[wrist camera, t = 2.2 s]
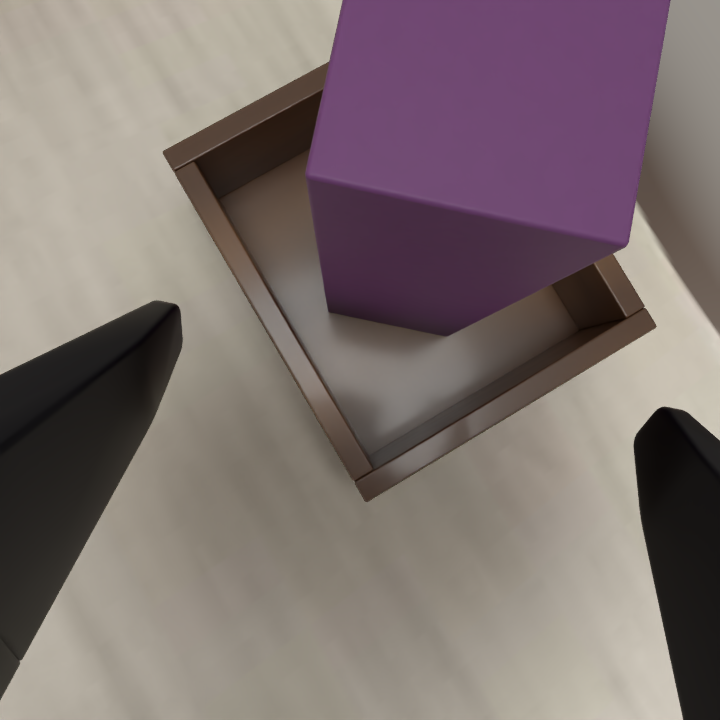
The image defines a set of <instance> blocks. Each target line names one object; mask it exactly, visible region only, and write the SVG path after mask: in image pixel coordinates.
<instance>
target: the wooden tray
mask: <svg viewBox="0 0 720 720" xmlns="http://www.w3.org/2000/svg"><path fill="white" fill-rule="evenodd" d="M328 66H329V62H327V63H326V64H324V65H322V66H320V67H318V68H316V69H315V70H313V71H311V72H309V73H307V74H305V75H303V76H302V77H300V78H298V79H296V80H294V81H292V82H290V83H289V84H287V85H285V86H283V87H281V88H279V89H277V90H276V91H274V92H272V93H270V94H268V95H266V96H264V97H263V98H261V99H259V100H257V101H255V102H253V103H251V104H250V105H248V106H246V107H244V108H242V109H240V110H238V111H237V112H235V113H233V114H231V115H229V116H227V117H225V118H224V119H222V120H220V121H218V122H216V123H214V124H212V125H211V126H209V127H207V128H205V129H203V130H201V131H199V132H198V133H196V134H194V135H192V136H190V137H188V138H186V139H185V140H183V141H181V142H179V143H177V144H175V145H173V146H172V147H170V148H168V149H166V150H164V151H163V155H164V156H165V158H166V160H167V161H168V163H169V165H170V167H171V168H172V170H173V171H174V173H175V175H176V177H177V179H178V180H179V182H180V184H181V185H182V187H183V189H184V191H185V192H186V194H187V196H188V198H189V199H190V201H191V203H192V204H193V206H194V208H195V210H196V211H197V213H198V215H199V216H200V218H201V220H202V222H203V223H204V225H205V227H206V229H207V230H208V232H209V234H210V235H211V237H212V239H213V241H214V242H215V244H216V246H217V247H218V249H219V251H220V253H221V254H222V256H223V258H224V260H225V261H226V263H227V265H228V266H229V268H230V270H231V272H232V273H233V275H234V277H235V279H236V280H237V282H238V284H239V285H240V287H241V289H242V291H243V292H244V294H245V296H246V297H247V299H248V301H249V303H250V304H251V306H252V308H253V310H254V311H255V313H256V315H257V316H258V318H259V320H260V322H261V323H262V325H263V327H264V328H265V330H266V332H267V334H268V335H269V337H270V339H271V341H272V342H273V344H274V346H275V347H276V349H277V351H278V353H279V354H280V356H281V358H282V359H283V361H284V363H285V365H286V366H287V368H288V370H289V372H290V373H291V375H292V377H293V378H294V380H295V382H296V384H297V385H298V387H299V389H300V390H301V392H302V394H303V396H304V397H305V399H306V401H307V403H308V404H309V406H310V408H311V409H312V411H313V413H314V415H315V416H316V418H317V420H318V421H319V423H320V425H321V427H322V428H323V430H324V432H325V434H326V435H327V437H328V439H329V440H330V442H331V444H332V446H333V447H334V449H335V451H336V452H337V454H338V456H339V458H340V459H341V461H342V463H343V465H344V466H345V468H346V470H347V471H348V473H349V475H350V477H351V478H352V480H353V481H354V482H355V485H356V487H357V489H358V490H359V492H360V494H361V496H362V497H363V499H364V501H365V502H368V501H370V500H372V499H373V498H375V497H377V496H378V495H380V494H382V493H383V492H385V491H387V490H388V489H390V488H392V487H393V486H395V485H397V484H398V483H400V482H402V481H403V480H405V479H407V478H408V477H410V476H411V475H413V474H415V473H416V472H418V471H420V470H421V469H423V468H425V467H426V466H428V465H430V464H431V463H433V462H435V461H436V460H438V459H440V458H441V457H443V456H445V455H446V454H448V453H450V452H451V451H453V450H455V449H456V448H458V447H459V446H461V445H463V444H464V443H466V442H468V441H469V440H471V439H473V438H474V437H476V436H478V435H479V434H481V433H483V432H484V431H486V430H488V429H489V428H491V427H493V426H494V425H496V424H498V423H499V422H501V421H502V420H504V419H506V418H507V417H509V416H511V415H512V414H514V413H516V412H517V411H519V410H521V409H522V408H524V407H526V406H527V405H529V404H531V403H532V402H534V401H536V400H537V399H539V398H541V397H542V396H544V395H546V394H547V393H549V392H550V391H552V390H554V389H555V388H557V387H559V386H560V385H562V384H564V383H565V382H567V381H569V380H570V379H572V378H574V377H575V376H577V375H579V374H580V373H582V372H584V371H585V370H587V369H589V368H590V367H592V366H594V365H595V364H597V363H598V362H600V361H602V360H603V359H605V358H607V357H608V356H610V355H612V354H613V353H615V352H617V351H618V350H620V349H622V348H623V347H625V346H627V345H628V344H630V343H632V342H633V341H635V340H637V339H638V338H640V337H641V336H643V335H645V334H646V333H648V332H650V331H651V330H653V329H655V328H656V324H655V322H654V321H653V319H652V318H651V316H650V314H649V313H648V311H647V309H646V308H644V307H645V306H644V304H643V302H642V301H641V299H640V297H639V296H638V294H637V293H636V291H635V289H634V288H633V286H632V284H631V283H630V281H629V279H628V278H627V276H626V274H625V273H624V271H623V270H622V268H621V266H620V265H619V263H618V261H617V260H616V258H615V256H614V255H613V254H611V255H609V256H607V257H605V258H603V259H601V260H599V261H597V262H595V263H593V264H591V265H589V266H587V267H585V268H583V269H581V270H579V271H577V272H575V273H573V274H571V275H569V276H567V277H565V278H563V279H561V280H559V281H557V282H555V283H553V284H551V285H549V286H547V287H545V288H543V289H541V290H539V291H537V292H535V293H533V294H531V295H529V296H527V297H525V298H523V299H521V300H519V301H517V302H515V303H513V304H511V305H509V306H507V307H505V308H503V309H501V310H499V311H497V312H495V313H493V314H491V315H489V316H487V317H485V318H483V319H481V320H480V321H478V322H476V323H474V324H472V325H470V326H468V327H466V328H464V329H462V330H460V331H458V332H456V333H454V334H452V335H450V336H447V337H446V336H441V335H436V334H431V333H427V332H422V331H417V330H412V329H408V328H403V327H398V326H393V325H388V324H384V323H379V322H374V321H369V320H365V319H360V318H355V317H350V316H345V315H341V314H336V313H331V312H328V309H327V303H326V297H325V291H324V285H323V279H322V273H321V267H320V261H319V255H318V249H317V243H316V237H315V231H314V225H313V219H312V213H311V207H310V201H309V195H308V189H307V183H306V177H305V171H306V166H307V162H308V157H309V153H310V148H311V143H312V139H313V134H314V130H315V125H316V120H317V116H318V111H319V107H320V102H321V98H322V93H323V88H324V84H325V79H326V75H327V70H328Z"/></svg>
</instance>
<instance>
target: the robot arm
mask: <svg viewBox="0 0 720 720" xmlns="http://www.w3.org/2000/svg"><path fill="white" fill-rule="evenodd" d="M182 342H183V337H182V325H181V313H180V309H179V307H178V306H177V305H176V304H173V303H168V302H164V301H157V300H156V301H152V302H150V303H148V304H146V305H144V306H142V307H140V308H138V309H136V310H133V311H131V312H129V313H127V314H125V315H123V316H121V317H119V318H117V319H115V320H113V321H111V322H109V323H107V324H105V325H102V326H100V327H98V328H96V329H94V330H92V331H90V332H88V333H86V334H84V335H82V336H80V337H78V338H76V339H73V340H71V341H69V342H67V343H65V344H63V345H61V346H59V347H57V348H55V349H53V350H51V351H49V352H47V353H44V354H42V355H40V356H38V357H36V358H34V359H32V360H30V361H28V362H26V363H24V364H22V365H20V366H18V367H15V368H13V369H11V370H9V371H7V372H5V373H3V374H1V375H0V700H1V698H2V696H3V694H4V692H5V690H6V689H7V687H8V685H9V683H10V681H11V680H12V678H13V676H14V674H15V672H16V670H17V669H18V667H19V665H20V660H22V659H23V657H24V655H25V653H26V652H27V650H28V648H29V646H30V644H31V642H32V641H33V639H34V637H35V635H36V633H37V632H38V630H39V628H40V626H41V624H42V622H43V621H44V619H45V617H46V615H47V613H48V611H49V610H50V608H51V606H52V604H53V602H54V601H55V599H56V597H57V595H58V593H59V591H60V590H61V588H62V586H63V584H64V582H65V580H66V579H67V577H68V575H69V573H70V571H71V570H72V568H73V566H74V564H75V562H76V560H77V559H78V557H79V555H80V553H81V551H82V549H83V548H84V546H85V544H86V542H87V540H88V539H89V537H90V535H91V533H92V531H93V529H94V528H95V526H96V524H97V522H98V520H99V518H100V517H101V515H102V513H103V511H104V509H105V508H106V506H107V504H108V502H109V500H110V498H111V497H112V495H113V493H114V491H115V489H116V487H117V486H118V484H119V482H120V480H121V478H122V477H123V475H124V473H125V471H126V469H127V467H128V466H129V464H130V462H131V460H132V458H133V456H134V455H135V453H136V451H137V449H138V447H139V446H140V444H141V442H142V440H143V438H144V436H145V435H146V433H147V431H148V429H149V427H150V425H151V423H152V421H153V419H154V417H155V414H156V412H157V410H158V407H159V405H160V402H161V400H162V397H163V395H164V392H165V390H166V387H167V385H168V382H169V380H170V377H171V375H172V372H173V369H174V367H175V364H176V362H177V359H178V357H179V354H180V352H181V348H182ZM634 455H635V466H636V476H637V487H638V497H639V508H640V515H641V522H642V527H643V532H644V537H645V542H646V547H647V551H648V556H649V561H650V565H651V570H652V575H653V580H654V584H655V589H656V594H657V598H658V603H659V608H660V612H661V617H662V622H663V627H664V631H665V636H666V641H667V645H668V650H669V655H670V659H671V664H672V669H673V674H674V678H675V683H676V688H677V692H678V697H679V702H680V707H681V711H682V716H683V720H720V441H719V440H718V439H717V438H716V437H715V436H714V435H713V434H711V433H710V432H709V431H708V430H707V429H706V428H705V427H703V426H702V425H701V424H700V423H699V422H698V421H697V420H695V419H694V418H693V417H692V416H691V415H690V414H689V413H687V412H685V411H683V410H679V409H675V408H670V407H661V408H659V409H657V410H656V411H655V412H654V414H653V415H652V416H651V417H650V418H649V420H648V421H647V422H646V423H645V424H644V425H643V427H642V428H641V429H640V430H639V431H638V433H637V434H636V437H635V440H634Z"/></svg>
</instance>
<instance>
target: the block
mask: <svg viewBox="0 0 720 720" xmlns="http://www.w3.org/2000/svg"><path fill="white" fill-rule="evenodd" d="M669 6H670V0H343V2H342V6H341V11H340V15H339V20H338V24H337V29H336V34H335V38H334V43H333V47H332V52H331V56H330V61H329V66H328V70H327V75H326V79H325V84H324V88H323V93H322V98H321V102H320V107H319V111H318V116H317V120H316V125H315V130H314V134H313V139H312V143H311V148H310V153H309V157H308V162H307V166H306V171H305V177H306V183H307V189H308V195H309V201H310V207H311V213H312V219H313V225H314V231H315V237H316V243H317V249H318V255H319V261H320V267H321V273H322V279H323V285H324V291H325V297H326V303H327V309H328V312H331V313H336V314H341V315H345V316H350V317H355V318H360V319H365V320H369V321H374V322H379V323H384V324H388V325H393V326H398V327H403V328H408V329H412V330H417V331H422V332H427V333H431V334H436V335H441V336H446V337H447V336H450V335H452V334H454V333H456V332H458V331H460V330H462V329H464V328H466V327H468V326H470V325H472V324H474V323H476V322H478V321H480V320H481V319H483V318H485V317H487V316H489V315H491V314H493V313H495V312H497V311H499V310H501V309H503V308H505V307H507V306H509V305H511V304H513V303H515V302H517V301H519V300H521V299H523V298H525V297H527V296H529V295H531V294H533V293H535V292H537V291H539V290H541V289H543V288H545V287H547V286H549V285H551V284H553V283H555V282H557V281H559V280H561V279H563V278H565V277H567V276H569V275H571V274H573V273H575V272H577V271H579V270H581V269H583V268H585V267H587V266H589V265H591V264H593V263H595V262H597V261H599V260H601V259H603V258H605V257H607V256H609V255H611V254H613V253H615V252H617V251H619V250H621V249H623V248H625V247H626V246H627V244H628V242H629V237H630V231H631V226H632V220H633V214H634V208H635V203H636V197H637V191H638V185H639V179H640V174H641V168H642V162H643V156H644V151H645V145H646V138H647V133H648V127H649V121H650V116H651V110H652V104H653V98H654V93H655V87H656V81H657V75H658V70H659V64H660V58H661V52H662V47H663V41H664V35H665V29H666V23H667V18H668V11H669Z"/></svg>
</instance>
